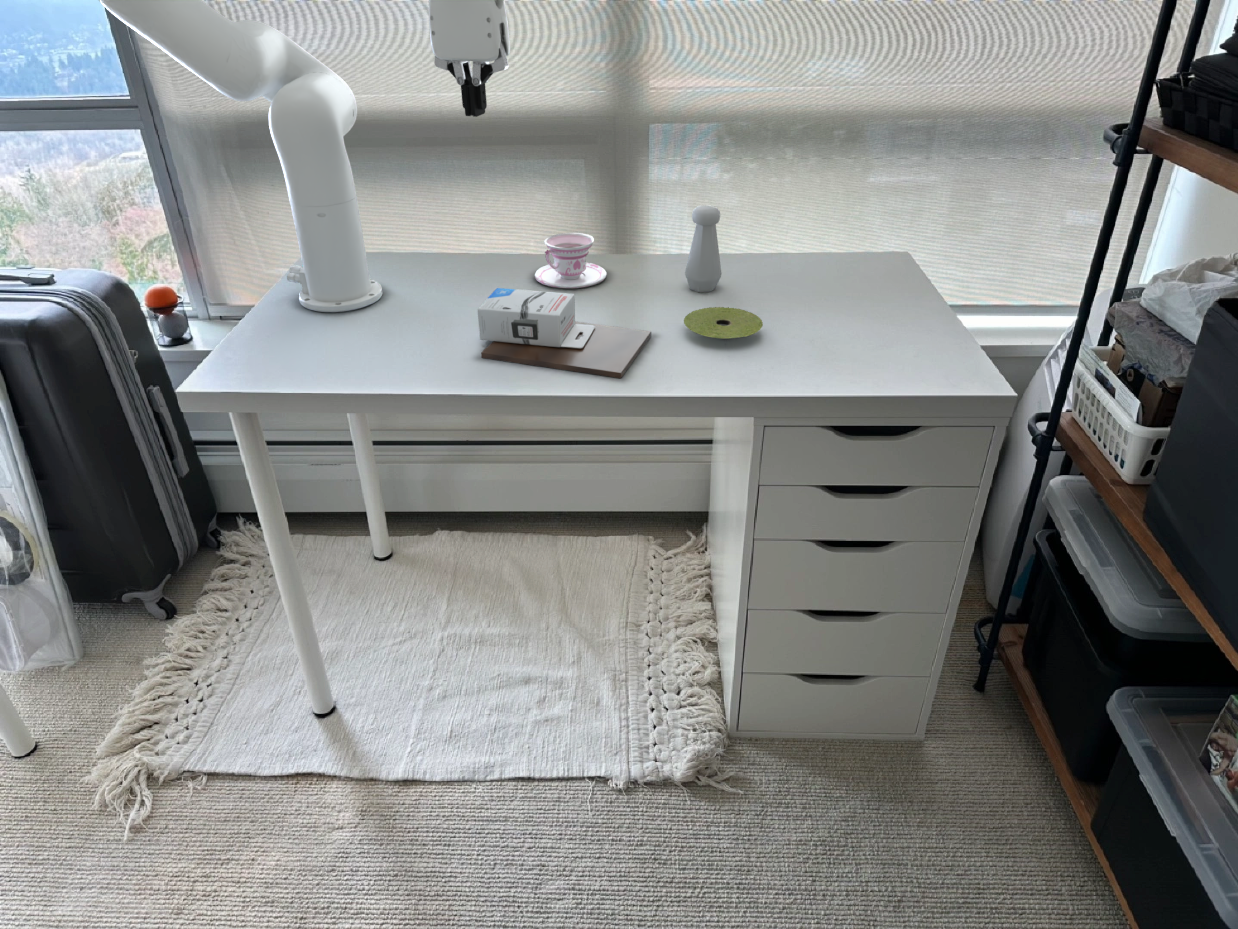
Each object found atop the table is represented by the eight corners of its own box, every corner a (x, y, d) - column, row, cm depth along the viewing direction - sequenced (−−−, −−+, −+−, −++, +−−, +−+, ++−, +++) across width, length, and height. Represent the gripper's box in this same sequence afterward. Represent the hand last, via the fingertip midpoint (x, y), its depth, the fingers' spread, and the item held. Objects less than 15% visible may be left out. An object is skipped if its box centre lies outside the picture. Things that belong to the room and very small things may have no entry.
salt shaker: (726, 285, 140) (732, 205, 133) (710, 296, 135) (715, 214, 128) (694, 278, 142) (698, 199, 135) (677, 289, 138) (681, 208, 131)
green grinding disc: (743, 356, 117) (744, 343, 116) (669, 340, 122) (670, 327, 120) (773, 327, 125) (774, 315, 124) (703, 313, 130) (703, 301, 129)
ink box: (496, 286, 124) (596, 293, 121) (498, 318, 126) (596, 326, 124) (476, 308, 117) (581, 316, 114) (479, 341, 119) (582, 350, 117)
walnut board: (481, 357, 117) (480, 352, 116) (522, 319, 128) (522, 314, 127) (621, 378, 111) (621, 372, 111) (651, 336, 123) (651, 331, 122)
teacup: (575, 259, 150) (574, 224, 147) (621, 277, 143) (621, 240, 139) (520, 276, 143) (517, 239, 140) (565, 295, 136) (564, 257, 132)
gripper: (527, -36, 112) (534, 113, 122) (425, -38, 116) (440, 106, 126) (503, -34, 106) (513, 123, 116) (397, -35, 110) (415, 116, 120)
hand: (475, 114), depth 121 cm, fingers closed
